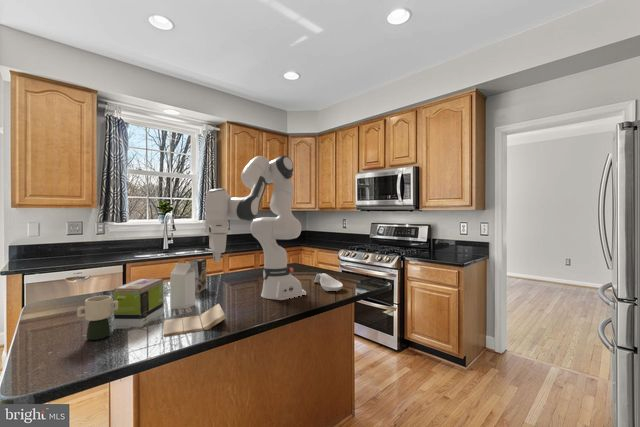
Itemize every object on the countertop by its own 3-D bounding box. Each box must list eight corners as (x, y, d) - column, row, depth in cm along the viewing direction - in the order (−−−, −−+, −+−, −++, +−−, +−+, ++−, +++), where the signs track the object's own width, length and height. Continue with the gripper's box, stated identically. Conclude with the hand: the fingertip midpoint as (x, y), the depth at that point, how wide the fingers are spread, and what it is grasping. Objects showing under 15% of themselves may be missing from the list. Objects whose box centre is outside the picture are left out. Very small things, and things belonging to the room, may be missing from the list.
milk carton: (184, 310, 126) (185, 265, 126) (170, 309, 127) (170, 264, 127) (195, 305, 133) (195, 262, 133) (180, 304, 134) (181, 261, 134)
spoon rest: (347, 292, 157) (347, 278, 157) (327, 295, 152) (327, 280, 152) (325, 282, 178) (325, 270, 178) (307, 284, 173) (307, 272, 173)
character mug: (115, 330, 104) (115, 293, 104) (120, 336, 99) (120, 297, 99) (75, 339, 97) (75, 299, 97) (78, 346, 92) (78, 304, 92)
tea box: (139, 314, 120) (140, 278, 120) (164, 315, 120) (164, 278, 120) (112, 329, 105) (113, 287, 105) (140, 329, 105) (141, 287, 105)
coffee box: (199, 292, 153) (200, 261, 153) (187, 292, 153) (187, 261, 153) (206, 288, 162) (207, 258, 162) (195, 288, 163) (195, 258, 162)
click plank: (220, 306, 119) (218, 303, 119) (226, 317, 107) (224, 314, 106) (201, 318, 116) (199, 315, 116) (204, 331, 103) (202, 328, 103)
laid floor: (198, 319, 115) (198, 315, 115) (202, 332, 103) (202, 328, 103) (164, 324, 110) (164, 320, 110) (163, 338, 98) (163, 334, 98)
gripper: (205, 226, 131) (205, 258, 131) (211, 229, 113) (211, 265, 113) (220, 226, 134) (220, 257, 134) (229, 228, 115) (228, 264, 116)
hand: (216, 261), depth 123 cm, fingers open, 4 cm apart
